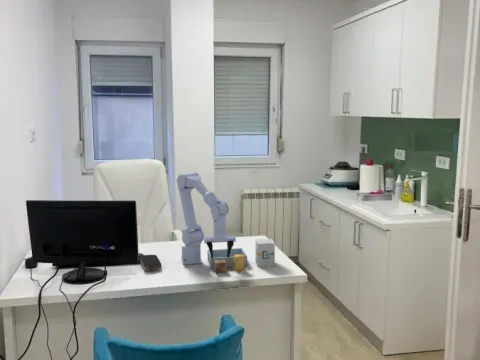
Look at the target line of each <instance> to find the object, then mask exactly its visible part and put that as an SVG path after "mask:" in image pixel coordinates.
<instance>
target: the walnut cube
mask: <svg viewBox="0 0 480 360" xmlns="http://www.w3.org/2000/svg"><path fill="white" fill-rule="evenodd" d="M213 270H214V274H215V273H216V274H226V273H227V268H226V261H225V259H221V260H214V268H213Z"/></svg>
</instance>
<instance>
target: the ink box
mask: <svg viewBox="0 0 480 360" xmlns="http://www.w3.org/2000/svg"><path fill="white" fill-rule="evenodd" d="M275 246H276V244H275V241H274V240H273V238H260V239H259V238H258V239H257V238H256V239H255V264H256V266H257V268H266V267H268V268H269V267H271V268H272V267H276V266H275V264H276V260H275V259H276V256H275V254H276V252H275V250H276V249H275V248H276V247H275Z"/></svg>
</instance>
